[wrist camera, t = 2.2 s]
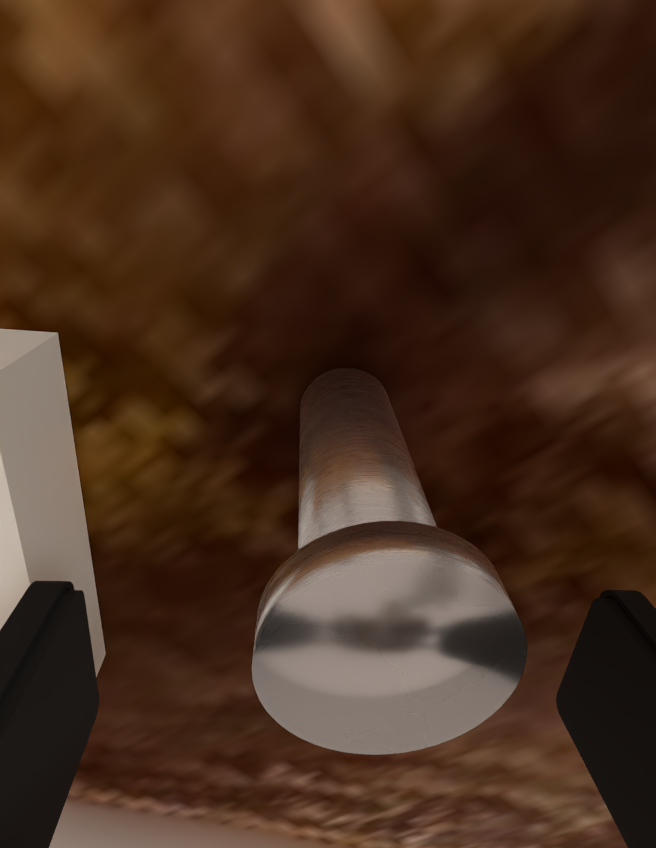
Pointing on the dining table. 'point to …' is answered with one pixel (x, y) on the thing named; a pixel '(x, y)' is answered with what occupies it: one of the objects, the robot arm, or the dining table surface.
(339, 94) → the dining table surface
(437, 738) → the steel pin
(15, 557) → the clevis block
